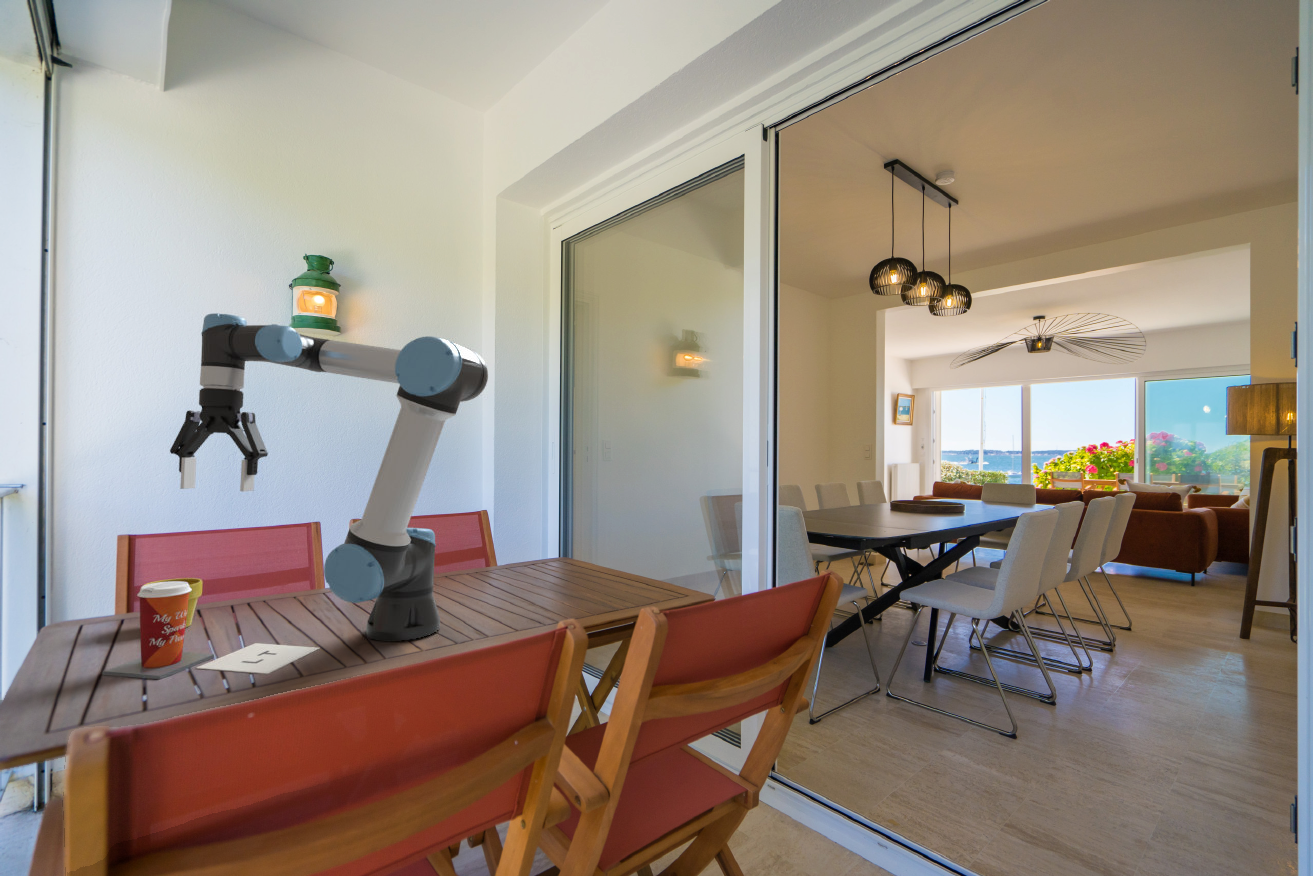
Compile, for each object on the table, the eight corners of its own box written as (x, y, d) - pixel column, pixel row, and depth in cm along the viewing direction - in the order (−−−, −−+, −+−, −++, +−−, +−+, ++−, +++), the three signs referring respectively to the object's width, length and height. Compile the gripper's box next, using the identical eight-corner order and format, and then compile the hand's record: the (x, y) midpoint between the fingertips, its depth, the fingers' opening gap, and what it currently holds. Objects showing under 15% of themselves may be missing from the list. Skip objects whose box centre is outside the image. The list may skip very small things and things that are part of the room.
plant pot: (128, 630, 128) (130, 584, 128) (182, 618, 137) (184, 575, 138) (158, 637, 124) (160, 590, 124) (211, 624, 134) (213, 580, 134)
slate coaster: (213, 657, 114) (213, 654, 114) (160, 679, 103) (160, 675, 103) (161, 653, 115) (161, 650, 115) (102, 674, 104) (102, 671, 104)
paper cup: (157, 672, 104) (161, 591, 105) (122, 667, 106) (126, 588, 106) (199, 657, 112) (203, 582, 112) (166, 653, 114) (169, 579, 114)
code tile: (319, 648, 121) (319, 647, 121) (267, 674, 107) (267, 673, 107) (255, 644, 122) (255, 643, 122) (195, 668, 108) (195, 667, 108)
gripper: (289, 391, 129) (285, 490, 128) (183, 389, 132) (179, 486, 131) (263, 388, 121) (258, 493, 121) (151, 385, 124) (146, 488, 124)
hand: (217, 489), depth 126 cm, fingers open, 13 cm apart
